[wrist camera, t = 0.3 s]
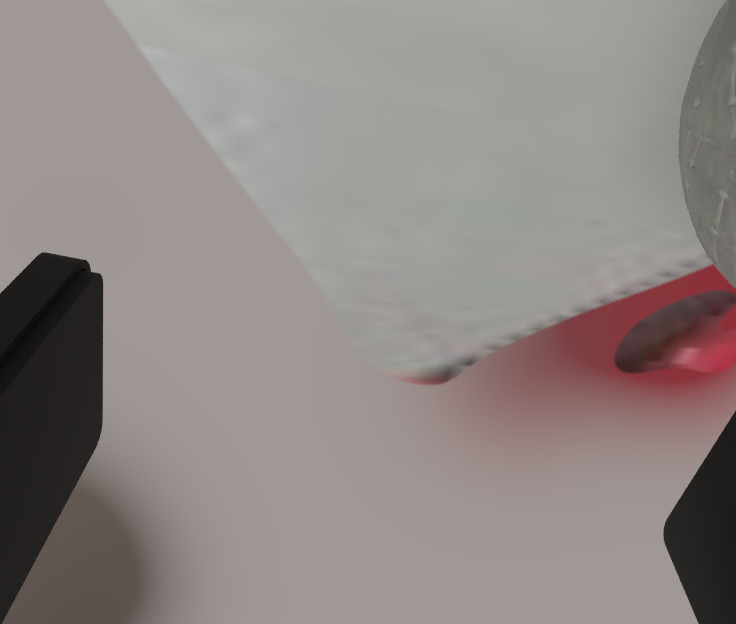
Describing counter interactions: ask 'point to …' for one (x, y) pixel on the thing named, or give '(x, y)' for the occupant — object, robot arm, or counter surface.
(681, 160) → the bowl
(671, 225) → the counter surface
